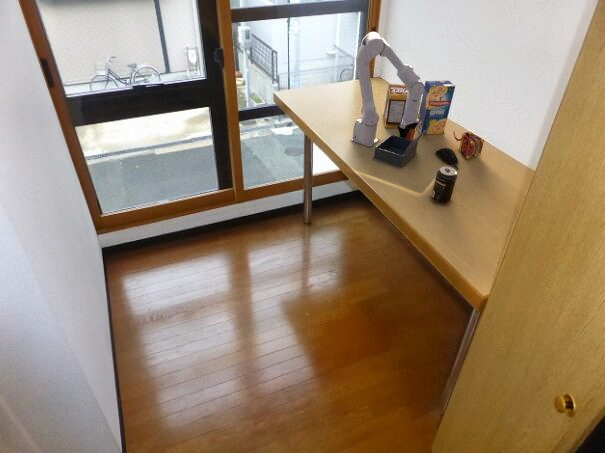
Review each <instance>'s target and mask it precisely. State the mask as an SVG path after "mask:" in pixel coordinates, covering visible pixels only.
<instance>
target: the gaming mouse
mask: <svg viewBox="0 0 605 453" xmlns="http://www.w3.org/2000/svg"><path fill="white" fill-rule="evenodd" d="M435 155H436V156H437V158H439V159H440V160H441V161H443V163H445V164H446V165H451V166H454V167H455V168H456V170H459V167H458V166H457V165H458V163H459V160H458V157H457V155H456V152H455V151H454V150H453V149H452V148H449V147H441V148H439V149H438V150H436V151H435Z"/></svg>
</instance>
